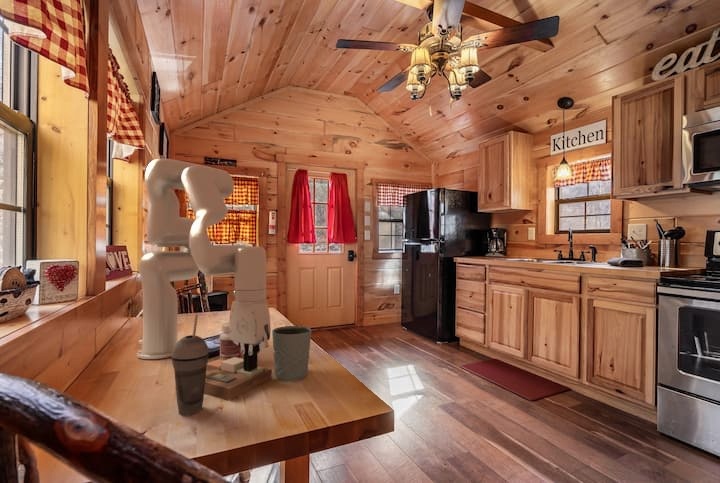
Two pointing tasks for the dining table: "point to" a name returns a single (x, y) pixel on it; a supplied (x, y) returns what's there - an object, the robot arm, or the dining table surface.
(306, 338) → the grey green cup
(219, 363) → the key terracotta
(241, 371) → the key sage
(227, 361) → the key cream
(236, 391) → the keypad board
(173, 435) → the dining table surface
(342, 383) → the dining table surface
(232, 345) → the pill bottle
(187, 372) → the beverage cup
